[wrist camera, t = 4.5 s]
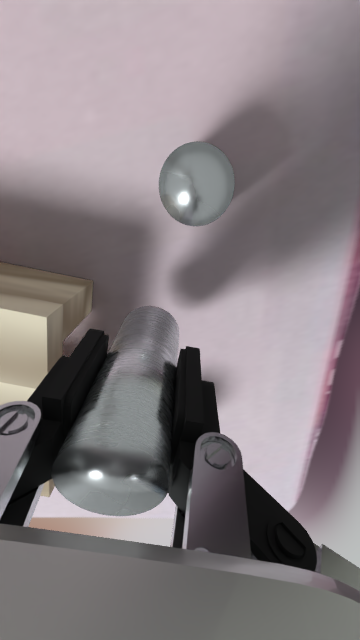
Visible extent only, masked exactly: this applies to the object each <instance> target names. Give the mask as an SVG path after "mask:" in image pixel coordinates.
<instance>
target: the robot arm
mask: <svg viewBox="0 0 360 640" xmlns="http://www.w3.org/2000/svg"><path fill="white" fill-rule="evenodd" d="M108 338H109V337H108V335H104V331H100V330H95V329H89V330H88V332H87V333H86V335H85V336H84V338H83V339H82V340H81V342H80V343H79V345H78V346H77V347H76V349H75V350H74V352H73V353H72V354H71V356H70V357H65V356H62V357H60V358H59V359H58V361H57V362H56V363H55V365H54V366H53V367H52V369H51V370H50V371H49V373H48V374H47V375H46V376H45V378H44V379H43V380H42V382H41V383H40V384H39V386H38V387H37V388H36V390H35V391H34V392H33V394H32V395H31V396H30V397H29V399H28V400H27V401H13V402H9V403H6V404H3V405H1V406H0V640H360V568H359V567H357V566H356V565H354V564H352V563H351V562H349V561H348V560H346V559H345V558H343V557H342V556H340V555H339V554H337V553H335V552H334V551H332V550H331V549H329V548H328V547H326V546H325V545H323V544H322V545H321V546H320V547H319V546H317V545H316V544H314V543H313V541H312V539H311V538H310V536H309V534H308V533H307V531H306V530H305V529H304V528H303V527H302V525H301V524H300V523H299V522H298V521H297V520H296V519H295V518H294V517H293V516H292V515H290V513H288V512H287V511H286V510H285V509H284V508H283V507H282V506H281V505H280V504H279V503H278V502H277V501H276V500H275V499H274V498H273V497H272V496H271V495H270V494H269V493H268V492H266V491H265V490H264V489H263V488H262V487H261V486H260V485H259V484H258V483H257V482H256V481H255V480H254V479H253V478H252V477H251V476H250V475H249V474H248V473H247V472H245V471H244V470H243V463H242V456H241V452H240V450H239V448H238V446H237V445H236V444H235V443H234V442H233V441H232V440H231V439H230V438H228V437H227V436H225V435H223V434H220V428H219V420H218V412H217V404H216V396H215V388H214V383H213V382H207V381H202V380H201V365H200V350H199V348H193V347H188V346H186V349H181V350H180V354H179V358H178V363H177V367H176V381H175V395H174V409H173V423H172V437H171V462H170V477H169V488H168V492H167V493H169V496H170V497H171V499H172V500H173V501H174V503H175V504H176V508H175V515H174V523H173V530H172V538H171V545H170V547H167V546H160V545H153V544H145V543H139V542H132V541H124V540H117V539H110V538H103V537H96V536H88V535H81V534H73V533H67V532H59V531H52V530H45V529H37V528H30V527H28V526H29V523H30V521H31V518H32V516H33V513H34V510H35V508H36V505H37V503H38V500H39V497H40V495H41V492H42V489H43V486H44V483H45V482H47V481H49V480H51V479H52V467H53V464H54V462H55V460H56V458H57V455H58V453H59V451H60V449H61V447H62V445H63V443H64V441H65V439H66V437H67V435H68V433H69V431H70V429H71V427H72V425H73V423H74V421H75V419H76V417H77V415H78V413H79V411H80V409H81V407H82V405H83V403H84V401H85V399H86V397H87V395H88V393H89V391H90V389H91V387H92V385H93V383H94V381H95V378H96V376H97V374H98V372H99V370H100V368H101V366H102V364H103V362H104V360H105V358H106V356H107V350H108Z"/></svg>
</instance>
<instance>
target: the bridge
mask: <svg viewBox="0 0 360 640" xmlns="http://www.w3.org/2000/svg"><path fill="white" fill-rule="evenodd" d="M92 293H93V281H91V280H86V279H82V278H77V277H72V276H67V275H62V274H57V273H52V272H47V271H42V270H37V269H33V268H28V267H23V266H18V265H13V264H8V263H3V262H0V406H1V405H3V404H6V403H9V402H13V401H27V400H28V399H29V397H30V396H31V395H32V394H33V392H34V391H35V390H36V388H37V387H38V386H39V384H40V383H41V382H42V380H43V379H44V378H45V376H46V375H47V374H48V373H49V371H50V370H51V369H52V367H53V366H54V365H55V363H56V362H57V361H58V359H59V358H60V357H62V352H63V341H64V340H65V338H66V337H67V336H68V335H69V334H70V333H71V332H72V331H73V330H74V329H75V328H76V327H77V326H78V325H79V324H80V323H81V321H82V320H83V319H84V318H85V317H86V316H87V315H88V314H89V313H90V312H91V309H92ZM54 486H55V485H54V482H53V479H51V480H49V481H47V482H45V483H44V486H43V489H42V492H41V496H46V497H50V495H51V493H52V491H53V488H54Z"/></svg>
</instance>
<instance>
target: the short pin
mask: <svg viewBox="0 0 360 640" xmlns="http://www.w3.org/2000/svg"><path fill="white" fill-rule="evenodd" d="M234 185H235V181H234V173H233V169H232V166H231V164H230V162H229V160H228V158H227V157H226V156H225V154H224V153H223V152H222V151H221V150H220V149H218V148H217V147H215V146H213V145H211V144H209V143H206V142H190V143H187V144H184V145H182V146H180V147H178V148H177V149H176V150H174V151H173V152H172V153H171V154H170V155H169V157H168V158H167V159H166V161H165V163H164V165H163V167H162V170H161V173H160V177H159V193H160V197H161V200H162V203H163V205H164V207H165V209H166V210H167V212H168V213H169V214H170V215H171V216H172V217H173V218H174V219H175V220H177V221H179V222H180V223H183V224H185V225H189V226H203V225H206V224H209V223H211V222H213V221H215V220H216V219H218V218H219V217H220V216H221V215H222V214H223V213H224V212H225V210H226V209H227V208H228V206H229V204H230V202H231V200H232V196H233V193H234Z"/></svg>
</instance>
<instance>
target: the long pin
mask: <svg viewBox="0 0 360 640" xmlns="http://www.w3.org/2000/svg"><path fill="white" fill-rule="evenodd" d="M178 344H179V327H178V324H177V322H176V320H175V319H174V317H173V316H172V315H171V314H170V313H168V312H167V311H165V310H163V309H161V308H159V307H154V306H143V307H139V308H137V309H135V310H133V311H132V312H130V313H129V314H128V315H127V317H126V318H125V320H124V322H123V324H122V326H121V328H120V330H119V332H118V334H117V336H116V338H115V340H114V342H113V344H112V346H111V348H110V350H109V352H108V354H107V356H106V358H105V360H104V362H103V364H102V366H101V368H100V370H99V372H98V374H97V376H96V378H95V381H94V383H93V385H92V387H91V389H90V391H89V393H88V395H87V397H86V399H85V401H84V403H83V405H82V407H81V409H80V411H79V413H78V415H77V417H76V419H75V421H74V423H73V425H72V427H71V429H70V431H69V433H68V435H67V437H66V439H65V441H64V443H63V445H62V447H61V449H60V451H59V453H58V455H57V458H56V460H55V462H54V464H53V467H52V479H53V482H54V485H55V486H56V488H57V489H58V491H59V492H60V493H61V494H62V495H63V496H64V497H65V498H66V499H67V500H69V501H70V502H72V503H73V504H75V505H77V506H79V507H81V508H83V509H85V510H88V511H91V512H94V513H98V514H103V515H110V516H129V515H136V514H140V513H143V512H146V511H149V510H151V509H153V508H154V507H156V506H157V505H159V504H160V503H161V502H162V501H163V500H164V498H165V497H166V495H167V492H168V488H169V477H170V462H171V437H172V423H173V409H174V395H175V381H176V367H177V358H178Z"/></svg>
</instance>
